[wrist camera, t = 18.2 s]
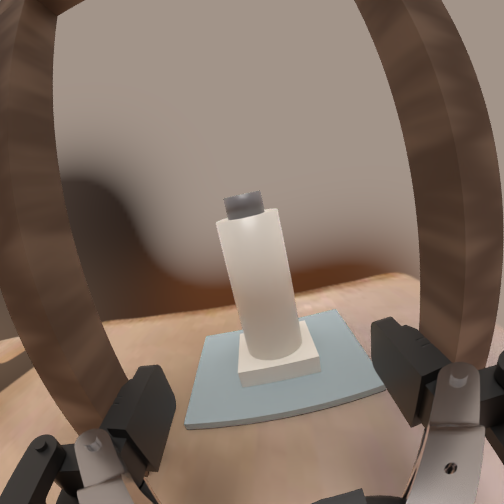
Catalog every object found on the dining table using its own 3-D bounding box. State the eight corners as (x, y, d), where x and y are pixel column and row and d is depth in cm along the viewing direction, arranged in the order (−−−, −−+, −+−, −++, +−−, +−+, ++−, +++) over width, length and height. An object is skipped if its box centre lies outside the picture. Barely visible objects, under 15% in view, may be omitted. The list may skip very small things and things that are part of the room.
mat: (186, 429, 16) (183, 424, 16) (207, 340, 29) (206, 336, 29) (385, 389, 16) (386, 383, 16) (336, 313, 29) (335, 308, 28)
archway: (109, 471, 12) (3, -6, 5) (125, 433, 16) (31, 12, 9) (474, 399, 11) (362, -96, 4) (446, 369, 15) (348, -66, 8)
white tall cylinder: (242, 387, 19) (191, 207, 17) (243, 347, 25) (206, 202, 22) (321, 371, 19) (290, 185, 16) (306, 334, 25) (279, 186, 22)
